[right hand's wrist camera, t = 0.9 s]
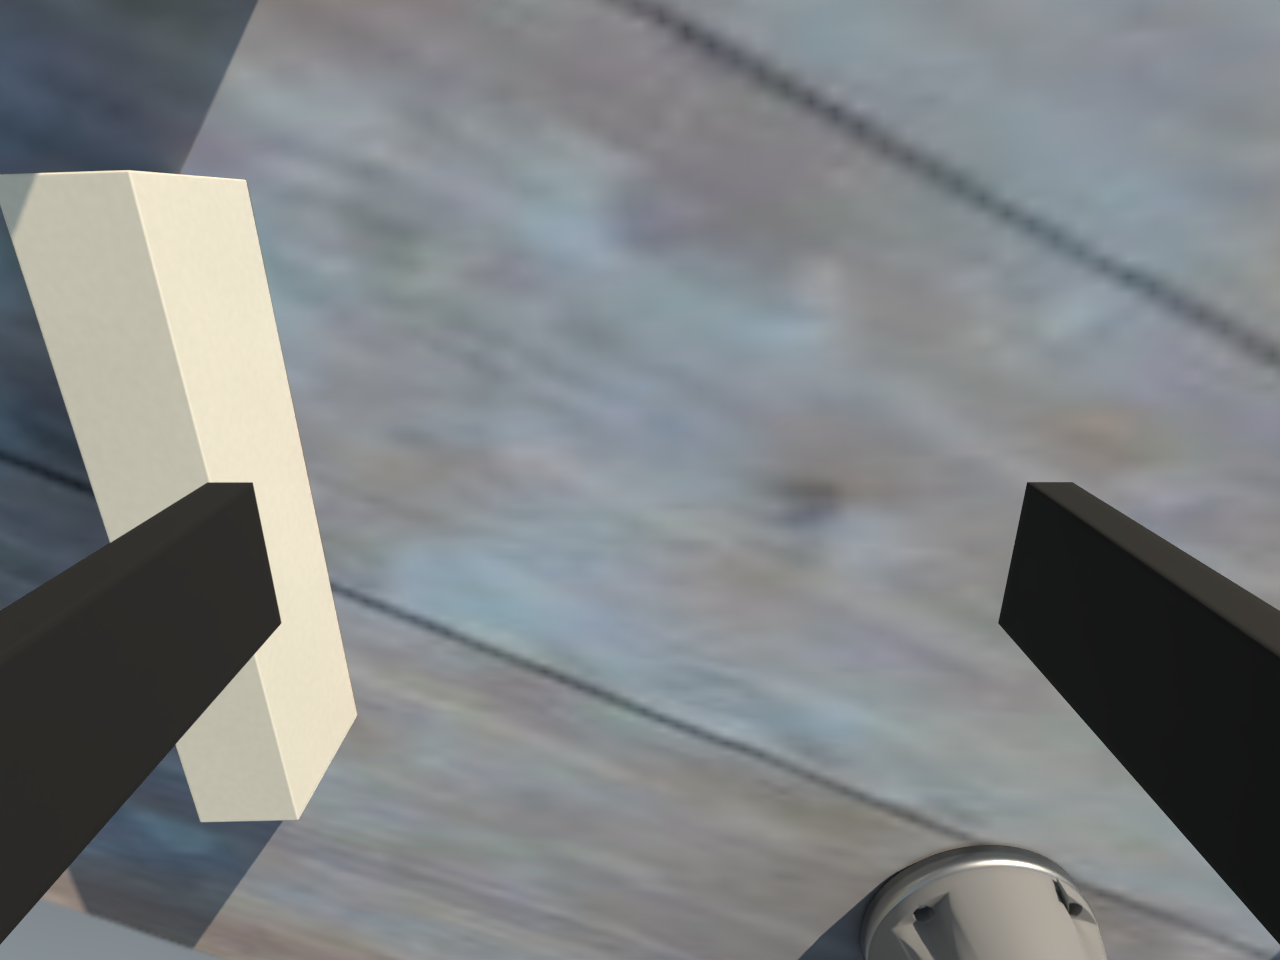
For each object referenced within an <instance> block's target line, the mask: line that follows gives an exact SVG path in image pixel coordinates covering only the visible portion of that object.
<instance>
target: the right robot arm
mask: <svg viewBox="0 0 1280 960" xmlns="http://www.w3.org/2000/svg"><path fill="white" fill-rule="evenodd" d="M280 624H281V618H280V613H279V608H278V603H277V598H276V593H275V588H274V584H273V579H272V574H271V569H270V564H269V559H268V554H267V549H266V545H265V540H264V535H263V530H262V525H261V520H260V515H259V510H258V506H257V501H256V496H255V491H254V486H253V482H207V483H206V484H204V485H203V486H201V487H199V488H198V489H196V490H195V491H193V492H191V493H190V494H188V495H186V496H185V497H183V498H182V499H180V500H178V501H177V502H175V503H174V504H172V505H170V506H169V507H167V508H166V509H164V510H162V511H161V512H159V513H157V514H156V515H154V516H153V517H151V518H149V519H148V520H146V521H145V522H143V523H141V524H140V525H138V526H137V527H135V528H133V529H132V530H130V531H128V532H127V533H125V534H124V535H122V536H120V537H119V538H117V539H116V540H114V541H112V542H111V543H109V544H108V545H106V546H104V547H103V548H101V549H99V550H98V551H96V552H95V553H93V554H91V555H90V556H88V557H87V558H85V559H83V560H82V561H80V562H79V563H77V564H75V565H74V566H72V567H70V568H69V569H67V570H66V571H64V572H62V573H61V574H59V575H58V576H56V577H54V578H53V579H51V580H49V581H48V582H46V583H45V584H43V585H41V586H40V587H38V588H37V589H35V590H33V591H32V592H30V593H29V594H27V595H25V596H24V597H22V598H20V599H19V600H17V601H16V602H14V603H12V604H11V605H9V606H8V607H6V608H4V609H3V610H1V611H0V944H1V943H2V942H3V941H4V940H5V938H6V937H7V936H8V935H9V934H10V933H11V932H12V930H13V929H14V928H15V927H16V926H17V925H18V924H19V922H20V921H21V920H22V919H23V918H24V917H25V916H26V914H27V913H28V912H29V911H30V910H31V909H32V908H33V906H34V905H35V904H36V903H37V902H38V901H39V900H40V898H41V897H42V896H43V895H44V894H45V893H46V892H47V890H48V889H49V888H50V887H51V886H52V885H53V884H54V883H55V881H56V880H57V879H58V878H59V877H60V876H61V875H62V873H63V872H64V871H65V870H66V869H67V868H68V867H69V865H70V864H71V863H72V862H73V861H74V860H75V859H76V857H77V856H78V855H79V854H80V853H81V852H82V851H83V849H84V848H85V847H86V846H87V845H88V844H89V843H90V841H91V840H92V839H93V838H94V837H95V836H96V835H97V833H98V832H99V831H100V830H101V829H102V828H103V827H104V825H105V824H106V823H107V822H108V821H109V820H110V819H111V817H112V816H113V815H114V814H115V813H116V812H117V811H118V809H119V808H120V807H121V806H122V805H123V804H124V803H125V801H126V800H127V799H128V798H129V797H130V796H131V795H132V793H133V792H134V791H135V790H136V789H137V788H138V787H139V785H140V784H141V783H142V782H143V781H144V780H145V779H146V777H147V776H148V775H149V774H150V773H151V772H152V771H153V769H154V768H155V767H156V766H157V765H158V764H159V763H160V761H161V760H162V759H163V758H164V757H165V756H166V755H167V753H168V752H169V751H170V750H171V749H172V748H173V747H174V746H175V744H176V743H177V742H178V741H179V740H180V739H181V738H182V736H183V735H184V734H185V733H186V732H187V731H188V730H189V728H190V727H191V726H192V725H193V724H194V723H195V722H196V720H197V719H198V718H199V717H200V716H201V715H202V714H203V712H204V711H205V710H206V709H207V708H208V707H209V706H210V704H211V703H212V702H213V701H214V700H215V699H216V698H217V696H218V695H219V694H220V693H221V692H222V691H223V690H224V688H225V687H226V686H227V685H228V684H229V683H230V682H231V680H232V679H233V678H234V677H235V676H236V675H237V674H238V672H239V671H240V670H241V669H242V668H243V667H244V666H245V664H246V663H247V662H248V661H249V660H250V659H251V658H252V656H253V655H254V654H255V653H256V652H257V651H258V650H259V648H260V647H261V646H262V645H263V644H264V643H265V642H266V640H267V639H268V638H269V637H270V636H271V635H272V634H273V632H274V631H275V630H276V629H277V628H278V627H279V626H280ZM999 624H1000V626H1001V627H1002V628H1003V629H1004V630H1005V631H1006V632H1007V634H1008V635H1009V636H1010V637H1011V638H1012V639H1013V640H1014V642H1015V643H1016V644H1017V645H1018V646H1019V647H1020V648H1021V650H1022V651H1023V652H1024V653H1025V654H1026V655H1027V656H1028V658H1029V659H1030V660H1031V661H1032V662H1033V663H1034V664H1035V666H1036V667H1037V668H1038V669H1039V670H1040V671H1041V672H1042V674H1043V675H1044V676H1045V677H1046V678H1047V679H1048V680H1049V682H1050V683H1051V684H1052V685H1053V686H1054V687H1055V688H1056V690H1057V691H1058V692H1059V693H1060V694H1061V695H1062V696H1063V698H1064V699H1065V700H1066V701H1067V702H1068V703H1069V704H1070V706H1071V707H1072V708H1073V709H1074V710H1075V711H1076V712H1077V714H1078V715H1079V716H1080V717H1081V718H1082V719H1083V720H1084V722H1085V723H1086V724H1087V725H1088V726H1089V727H1090V728H1091V730H1092V731H1093V732H1094V733H1095V734H1096V735H1097V736H1098V738H1099V739H1100V740H1101V741H1102V742H1103V743H1104V744H1105V746H1106V747H1107V748H1108V749H1109V750H1110V751H1111V752H1112V753H1113V755H1114V756H1115V757H1116V758H1117V759H1118V760H1119V761H1120V763H1121V764H1122V765H1123V766H1124V767H1125V768H1126V769H1127V771H1128V772H1129V773H1130V774H1131V775H1132V776H1133V777H1134V779H1135V780H1136V781H1137V782H1138V783H1139V784H1140V785H1141V787H1142V788H1143V789H1144V790H1145V791H1146V792H1147V793H1148V795H1149V796H1150V797H1151V798H1152V799H1153V800H1154V801H1155V803H1156V804H1157V805H1158V806H1159V807H1160V808H1161V809H1162V811H1163V812H1164V813H1165V814H1166V815H1167V816H1168V817H1169V819H1170V820H1171V821H1172V822H1173V823H1174V824H1175V825H1176V827H1177V828H1178V829H1179V830H1180V831H1181V832H1182V833H1183V835H1184V836H1185V837H1186V838H1187V839H1188V840H1189V841H1190V843H1191V844H1192V845H1193V846H1194V847H1195V848H1196V849H1197V851H1198V852H1199V853H1200V854H1201V855H1202V856H1203V857H1204V859H1205V860H1206V861H1207V862H1208V863H1209V864H1210V865H1211V867H1212V868H1213V869H1214V870H1215V871H1216V872H1217V873H1218V875H1219V876H1220V877H1221V878H1222V879H1223V880H1224V881H1225V883H1226V884H1227V885H1228V886H1229V887H1230V888H1231V889H1232V890H1233V892H1234V893H1235V894H1236V895H1237V896H1238V897H1239V898H1240V900H1241V901H1242V902H1243V903H1244V904H1245V905H1246V906H1247V908H1248V909H1249V910H1250V911H1251V912H1252V913H1253V914H1254V916H1255V917H1256V918H1257V919H1258V920H1259V921H1260V922H1261V924H1262V925H1263V926H1264V927H1265V928H1266V929H1267V930H1268V932H1269V933H1270V934H1271V935H1272V936H1273V937H1274V938H1275V940H1276V941H1277V942H1278V943H1279V944H1280V611H1279V610H1277V609H1276V608H1274V607H1272V606H1271V605H1269V604H1268V603H1266V602H1264V601H1263V600H1261V599H1260V598H1258V597H1256V596H1255V595H1253V594H1251V593H1250V592H1248V591H1247V590H1245V589H1243V588H1242V587H1240V586H1239V585H1237V584H1235V583H1234V582H1232V581H1231V580H1229V579H1227V578H1226V577H1224V576H1222V575H1221V574H1219V573H1218V572H1216V571H1214V570H1213V569H1211V568H1210V567H1208V566H1206V565H1205V564H1203V563H1201V562H1200V561H1198V560H1197V559H1195V558H1193V557H1192V556H1190V555H1189V554H1187V553H1185V552H1184V551H1182V550H1181V549H1179V548H1177V547H1176V546H1174V545H1172V544H1171V543H1169V542H1168V541H1166V540H1164V539H1163V538H1161V537H1160V536H1158V535H1156V534H1155V533H1153V532H1152V531H1150V530H1148V529H1147V528H1145V527H1143V526H1142V525H1140V524H1139V523H1137V522H1135V521H1134V520H1132V519H1131V518H1129V517H1127V516H1126V515H1124V514H1123V513H1121V512H1119V511H1118V510H1116V509H1114V508H1113V507H1111V506H1110V505H1108V504H1106V503H1105V502H1103V501H1102V500H1100V499H1098V498H1097V497H1095V496H1094V495H1092V494H1090V493H1089V492H1087V491H1085V490H1084V489H1082V488H1081V487H1079V486H1077V485H1076V484H1074V483H1073V482H1027V486H1026V491H1025V496H1024V501H1023V506H1022V510H1021V515H1020V520H1019V525H1018V530H1017V535H1016V540H1015V545H1014V549H1013V554H1012V559H1011V564H1010V569H1009V574H1008V579H1007V584H1006V588H1005V593H1004V598H1003V603H1002V608H1001V613H1000V618H999ZM860 944H861V949H862V953H863V956H864V960H1107V957H1106V953H1105V950H1104V946H1103V943H1102V939H1101V935H1100V932H1099V928H1098V925H1097V922H1096V920H1095V916H1094V914H1093V911H1092V909H1091V907H1090V906H1089V904H1088V902H1087V901H1086V899H1085V898H1084V896H1083V894H1082V893H1081V891H1080V890H1079V888H1078V887H1077V885H1076V884H1075V882H1074V881H1073V879H1072V878H1071V877H1070V876H1069V874H1068V873H1067V872H1066V871H1065V870H1064V869H1063V868H1061V867H1060V866H1059V865H1057V864H1056V863H1055V862H1053V861H1051V860H1050V859H1048V858H1046V857H1044V856H1042V855H1040V854H1037V853H1034V852H1031V851H1028V850H1024V849H1021V848H1015V847H1010V846H999V845H981V846H970V847H962V848H958V849H953V850H949V851H945V852H942V853H939V854H936V855H933V856H930V857H928V858H925V859H923V860H921V861H919V862H917V863H915V864H913V865H911V866H909V867H908V868H906V869H905V870H903V871H901V872H900V873H899V874H897V875H896V876H895V877H893V878H892V879H891V880H890V881H889V882H887V883H886V884H885V885H884V886H883V887H882V888H881V889H880V891H879V892H878V893H877V894H876V895H875V897H874V898H873V899H872V901H871V903H870V904H869V906H868V908H867V910H866V912H865V914H864V917H863V920H862V924H861V929H860Z"/></svg>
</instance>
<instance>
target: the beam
mask: <svg viewBox="0 0 1280 960" xmlns="http://www.w3.org/2000/svg"><path fill="white" fill-rule="evenodd" d="M0 206H1V209H2V212H3V215H4V218H5V221H6V224H7V228H8V231H9V234H10V237H11V240H12V243H13V246H14V249H15V252H16V255H17V258H18V261H19V265H20V268H21V271H22V274H23V277H24V280H25V283H26V286H27V289H28V292H29V295H30V298H31V302H32V305H33V308H34V311H35V314H36V317H37V320H38V323H39V326H40V329H41V332H42V335H43V339H44V342H45V345H46V348H47V351H48V354H49V357H50V360H51V363H52V366H53V369H54V372H55V376H56V379H57V382H58V385H59V388H60V391H61V394H62V397H63V400H64V403H65V406H66V409H67V413H68V416H69V419H70V422H71V425H72V428H73V431H74V434H75V437H76V440H77V443H78V446H79V450H80V453H81V456H82V459H83V462H84V465H85V468H86V471H87V474H88V477H89V480H90V483H91V487H92V490H93V493H94V496H95V499H96V502H97V505H98V508H99V511H100V514H101V517H102V520H103V524H104V527H105V530H106V533H107V536H108V539H109V542H110V543H111V542H112V541H114V540H116V539H117V538H119V537H120V536H122V535H124V534H125V533H127V532H128V531H130V530H132V529H133V528H135V527H137V526H138V525H140V524H141V523H143V522H145V521H146V520H148V519H149V518H151V517H153V516H154V515H156V514H157V513H159V512H161V511H162V510H164V509H166V508H167V507H169V506H170V505H172V504H174V503H175V502H177V501H178V500H180V499H182V498H183V497H185V496H186V495H188V494H190V493H191V492H193V491H195V490H196V489H198V488H199V487H201V486H203V485H204V484H206V483H207V482H253V486H254V491H255V496H256V501H257V506H258V510H259V515H260V520H261V525H262V530H263V535H264V540H265V545H266V549H267V554H268V559H269V564H270V569H271V574H272V579H273V584H274V588H275V593H276V598H277V603H278V608H279V613H280V618H281V624H280V626H279V627H278V628H277V629H276V630H275V631H274V632H273V634H272V635H271V636H270V637H269V638H268V639H267V640H266V642H265V643H264V644H263V645H262V646H261V647H260V648H259V650H258V651H257V652H256V653H255V654H254V655H253V656H252V658H251V659H250V660H249V661H248V662H247V663H246V664H245V666H244V667H243V668H242V669H241V670H240V671H239V672H238V674H237V675H236V676H235V677H234V678H233V679H232V680H231V682H230V683H229V684H228V685H227V686H226V687H225V688H224V690H223V691H222V692H221V693H220V694H219V695H218V696H217V698H216V699H215V700H214V701H213V702H212V703H211V704H210V706H209V707H208V708H207V709H206V710H205V711H204V712H203V714H202V715H201V716H200V717H199V718H198V719H197V720H196V722H195V723H194V724H193V725H192V726H191V727H190V728H189V730H188V731H187V732H186V733H185V734H184V735H183V736H182V738H181V739H180V740H179V741H178V742H177V743H176V744H175V746H176V749H177V752H178V755H179V758H180V761H181V764H182V767H183V770H184V773H185V776H186V779H187V783H188V786H189V789H190V792H191V795H192V798H193V801H194V804H195V807H196V810H197V813H198V816H199V820H200V822H240V821H283V820H298V819H299V818H300V816H301V814H302V813H303V811H304V809H305V807H306V805H307V804H308V802H309V800H310V798H311V797H312V795H313V793H314V791H315V789H316V788H317V786H318V784H319V782H320V781H321V779H322V777H323V775H324V773H325V772H326V770H327V768H328V766H329V765H330V763H331V761H332V759H333V757H334V756H335V754H336V752H337V750H338V749H339V747H340V745H341V743H342V741H343V740H344V738H345V736H346V734H347V733H348V731H349V729H350V727H351V725H352V724H353V722H354V720H355V718H356V717H357V712H356V707H355V702H354V697H353V693H352V688H351V683H350V678H349V673H348V669H347V664H346V659H345V654H344V649H343V644H342V640H341V635H340V630H339V625H338V620H337V616H336V611H335V606H334V601H333V596H332V592H331V587H330V582H329V577H328V572H327V568H326V563H325V558H324V553H323V548H322V544H321V539H320V534H319V529H318V524H317V520H316V515H315V510H314V505H313V500H312V495H311V491H310V486H309V481H308V476H307V471H306V467H305V462H304V457H303V452H302V447H301V443H300V438H299V433H298V428H297V423H296V419H295V414H294V409H293V404H292V399H291V395H290V390H289V385H288V380H287V375H286V370H285V366H284V361H283V356H282V351H281V346H280V342H279V337H278V332H277V327H276V322H275V318H274V313H273V308H272V303H271V298H270V294H269V289H268V284H267V279H266V274H265V270H264V265H263V260H262V255H261V250H260V245H259V241H258V236H257V231H256V226H255V221H254V217H253V212H252V207H251V202H250V197H249V193H248V188H247V183H246V181H245V180H241V179H229V178H217V177H205V176H193V175H181V174H169V173H157V172H145V171H133V170H118V171H87V172H56V173H25V174H0Z"/></svg>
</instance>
